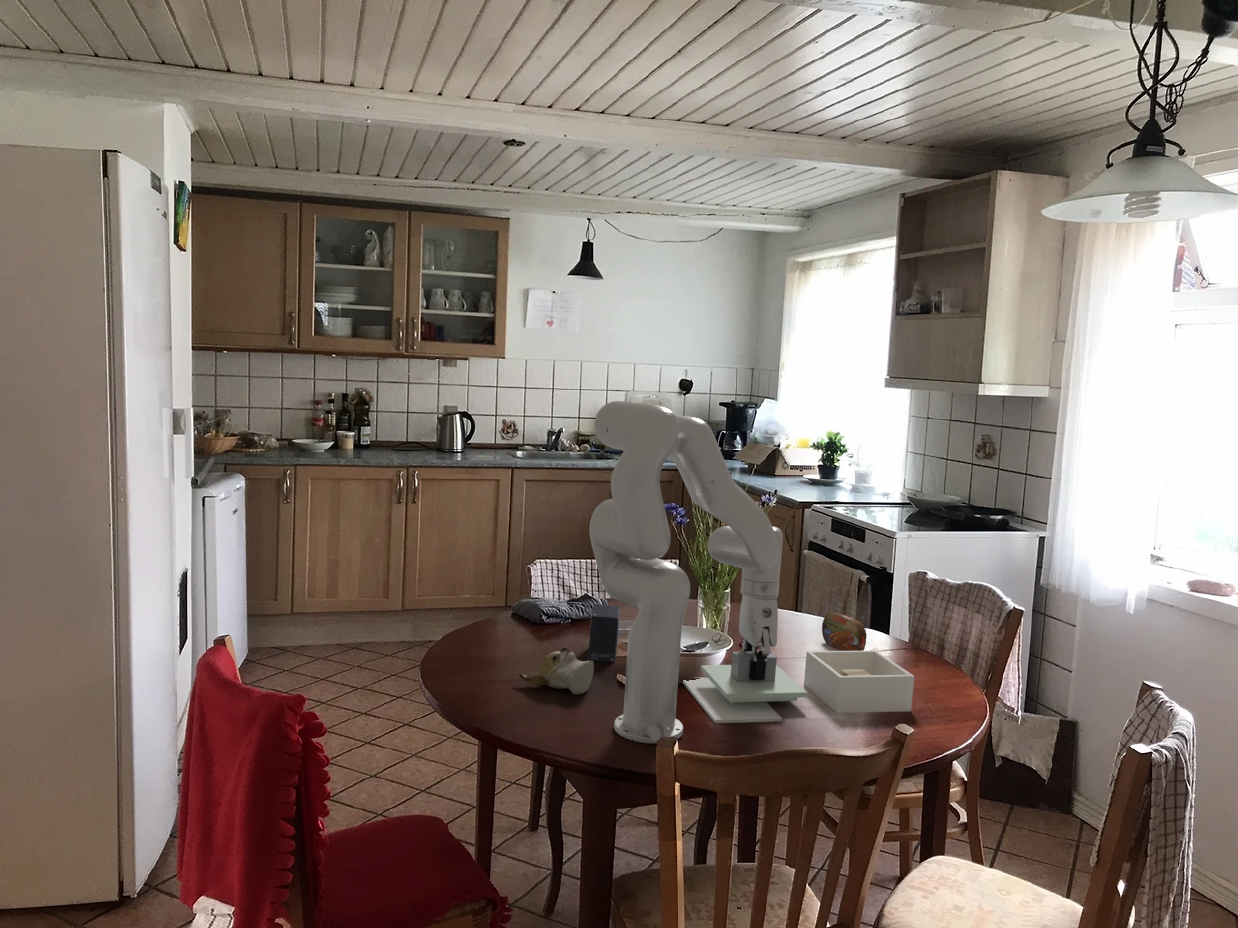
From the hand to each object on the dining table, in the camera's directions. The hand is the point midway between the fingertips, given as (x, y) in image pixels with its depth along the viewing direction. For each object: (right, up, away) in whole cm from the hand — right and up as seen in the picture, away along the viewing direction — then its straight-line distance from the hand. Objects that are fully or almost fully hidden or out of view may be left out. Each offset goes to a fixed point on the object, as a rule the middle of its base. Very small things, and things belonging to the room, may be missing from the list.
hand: (752, 674), depth 189 cm
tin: (+27, -3, +38) cm, 47 cm away
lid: (0, -3, 0) cm, 3 cm away
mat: (0, -5, +1) cm, 5 cm away
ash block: (+22, -5, +3) cm, 23 cm away
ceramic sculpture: (-39, -3, +1) cm, 39 cm away
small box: (-31, -1, +23) cm, 39 cm away
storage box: (+22, -6, +3) cm, 23 cm away
